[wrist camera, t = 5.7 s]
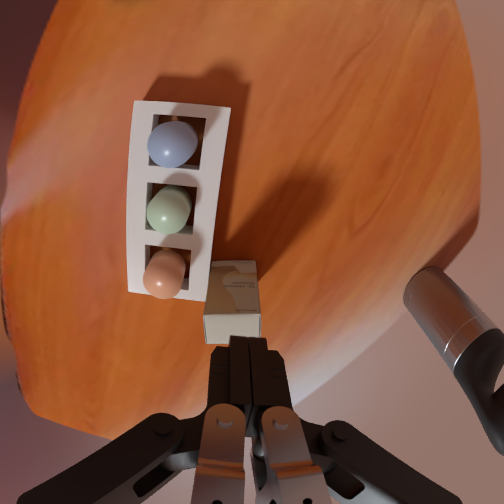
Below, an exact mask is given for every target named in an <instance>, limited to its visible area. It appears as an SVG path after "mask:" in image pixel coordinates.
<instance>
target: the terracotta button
mask: <svg viewBox="0 0 504 504" xmlns="http://www.w3.org/2000/svg"><path fill="white" fill-rule="evenodd" d="M185 270H186V265H185V262H184V260H183V258H182V257H181V256H180V255H179V254H178V253H176V252H174V251H172V250H161V251H158V252H156V253H155V254H154V255H153V256H152V258H151V260H150V262H149V264H148V266H147V268H146V270H145V272H144V275H143V284H144V287H145V289H146V290H147V291H148V292H149V293H150V294H151V295H153V296H154V297H157V298H160V299H169V298H172V297H174V296H176V295H177V294H178V293H179V291H180V289H181V286H182V282H183V278H184V274H185Z"/></svg>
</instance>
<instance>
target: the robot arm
mask: <svg viewBox="0 0 504 504" xmlns="http://www.w3.org/2000/svg"><path fill="white" fill-rule="evenodd" d="M404 304H405V306H406V308H407V309H408V310H409V312H410V313H411V314H412V316H413V317H414V319H415V320H416V321H417V323H418V324H419V325H420V327H421V328H422V330H423V331H424V332H425V334H426V335H427V337H428V338H429V339H430V341H431V342H432V344H433V345H434V347H435V348H436V349H437V351H438V352H439V354H440V355H441V357H442V358H443V360H444V361H445V363H446V364H447V366H448V367H449V369H450V370H451V372H452V373H453V374H454V376H455V378H456V379H457V381H458V382H459V384H460V385H461V387H462V389H463V390H464V392H465V394H466V395H467V397H468V399H469V400H470V402H471V404H472V406H473V408H474V410H475V411H476V413H477V415H478V418H479V420H480V421H481V424H482V426H483V428H484V430H485V432H486V434H487V436H488V438H489V440H490V442H491V443H492V445H493V446H494V448H495V449H496V450H497V451H498V452H499V453H500V454H501V455H503V456H504V384H503V385H502V386H501V387H500V388H499V389H498V390H497V391H496V392H494V386H495V383H496V380H497V377H498V375H499V372H500V370H501V368H502V366H503V365H504V334H503V332H502V331H501V330H500V329H499V328H498V327H497V326H496V325H495V324H494V322H493V321H492V320H491V319H490V318H489V317H488V316H487V315H486V314H485V313H484V312H483V311H482V310H481V309H480V308H479V307H478V305H477V304H476V303H474V301H473V300H472V299H471V298H470V297H469V296H468V295H467V294H466V293H465V292H464V291H463V290H462V289H461V288H460V287H459V286H458V285H456V283H454V282H453V280H452V279H451V278H449V277H448V276H447V275H446V274H445V273H444V272H443V271H442V270H441V269H439V268H437V267H429V268H426V269H424V270H422V271H420V272H419V273H417V274H416V275H415V276H414V277H413V278H412V279H411V281H410V282H409V284H408V285H407V287H406V290H405V293H404ZM245 437H251V438H252V447H251V450H250V457H251V464H252V470H253V477H254V483H255V489H256V501H255V504H332V502H331V498H330V496H332V497H333V498H334V499H335V500H337V501H338V502H340V503H341V504H462V502H461V500H460V498H459V497H457V496H456V495H454V494H453V493H451V492H449V491H448V490H446V489H444V488H443V487H441V486H439V485H437V484H436V483H435V482H433V481H431V480H430V479H428V478H427V477H425V476H424V475H422V474H420V473H419V472H417V471H416V470H414V469H413V468H411V467H410V466H408V465H407V464H405V463H404V462H402V461H401V460H399V459H398V458H396V457H395V456H394V455H392V454H391V453H389V452H388V451H386V450H385V449H384V448H382V447H381V446H379V445H378V444H376V443H375V442H374V441H372V440H371V439H369V438H368V437H367V436H365V435H364V434H362V433H361V432H360V431H358V430H357V429H356V428H354V427H353V426H352V425H350V424H349V423H347V422H344V421H340V420H335V421H331V422H329V423H327V424H326V425H325V426H322V425H317V424H313V423H309V422H306V421H304V420H302V419H301V418H300V417H298V415H297V414H296V413H295V412H294V410H293V408H292V403H291V397H290V392H289V386H288V381H287V375H286V371H285V364H284V359H283V358H282V357H281V355H280V354H279V352H278V351H275V350H268V348H267V340H266V338H260V337H246V336H235V335H230V338H229V345H228V347H221V346H216V348H215V349H214V351H213V352H212V354H211V360H210V371H209V383H208V398H207V407H206V409H205V410H204V411H203V412H202V413H201V414H200V415H198V416H196V417H193V418H188V419H182V420H179V419H178V418H176V417H175V416H173V415H170V414H167V413H156V414H153V415H151V416H149V417H147V418H146V419H144V420H143V421H142V422H140V423H139V424H137V425H136V426H134V427H133V428H131V429H130V430H128V431H127V432H125V433H124V434H122V435H121V436H119V437H118V438H116V439H115V440H113V441H112V442H110V443H109V444H107V445H105V446H104V447H102V448H101V449H99V450H98V451H96V452H95V453H93V454H91V455H90V456H88V457H86V458H85V459H83V460H82V461H80V462H78V463H77V464H75V465H73V466H72V467H70V468H68V469H66V470H65V471H63V472H61V473H60V474H58V475H56V476H54V477H53V478H51V479H49V480H47V481H46V482H44V483H42V484H40V485H38V486H36V487H35V488H33V489H31V490H29V491H27V492H25V493H23V494H22V495H21V496H20V497H19V498H18V500H17V504H141V503H142V502H143V501H145V500H146V499H147V498H149V497H150V496H151V495H153V494H154V493H155V492H156V491H157V490H159V489H160V488H162V487H163V486H164V485H165V484H167V483H168V482H169V481H170V480H172V479H173V478H174V477H175V476H177V475H178V474H179V473H180V472H181V471H182V470H185V469H190V468H196V471H195V478H194V485H193V492H192V498H191V504H244V487H245V471H244V468H243V461H244V442H245Z"/></svg>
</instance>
